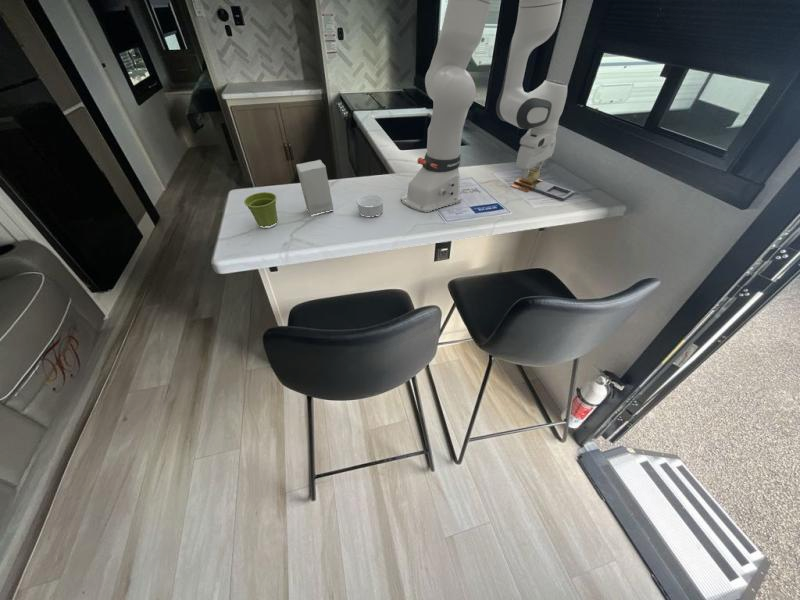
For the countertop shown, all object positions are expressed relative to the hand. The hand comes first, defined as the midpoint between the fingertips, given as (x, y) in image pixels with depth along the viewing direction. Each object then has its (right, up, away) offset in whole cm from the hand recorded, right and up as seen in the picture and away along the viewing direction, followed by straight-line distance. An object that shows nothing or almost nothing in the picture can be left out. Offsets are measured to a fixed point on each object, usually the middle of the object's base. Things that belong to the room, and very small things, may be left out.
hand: (530, 174), depth 122 cm
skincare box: (-77, -17, -11) cm, 80 cm away
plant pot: (-92, -23, -18) cm, 97 cm away
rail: (+3, -6, -1) cm, 7 cm away
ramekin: (-59, -18, -12) cm, 63 cm away
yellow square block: (0, -3, +2) cm, 4 cm away
